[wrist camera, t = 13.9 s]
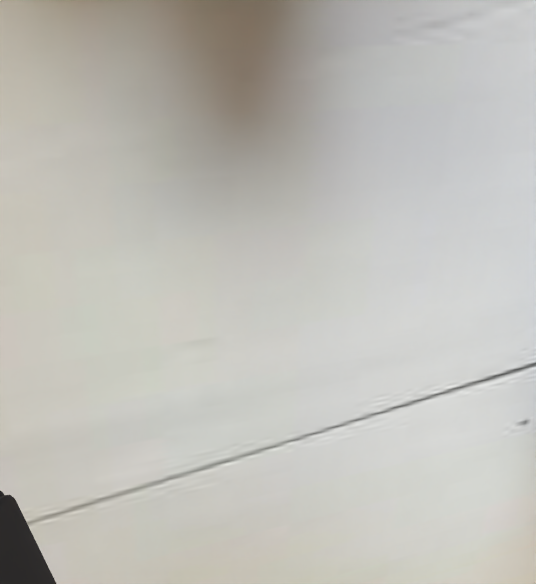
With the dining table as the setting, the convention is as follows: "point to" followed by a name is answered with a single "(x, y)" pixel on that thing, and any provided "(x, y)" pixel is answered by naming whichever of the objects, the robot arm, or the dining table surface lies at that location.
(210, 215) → the dining table surface
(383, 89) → the dining table surface
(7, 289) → the dining table surface
